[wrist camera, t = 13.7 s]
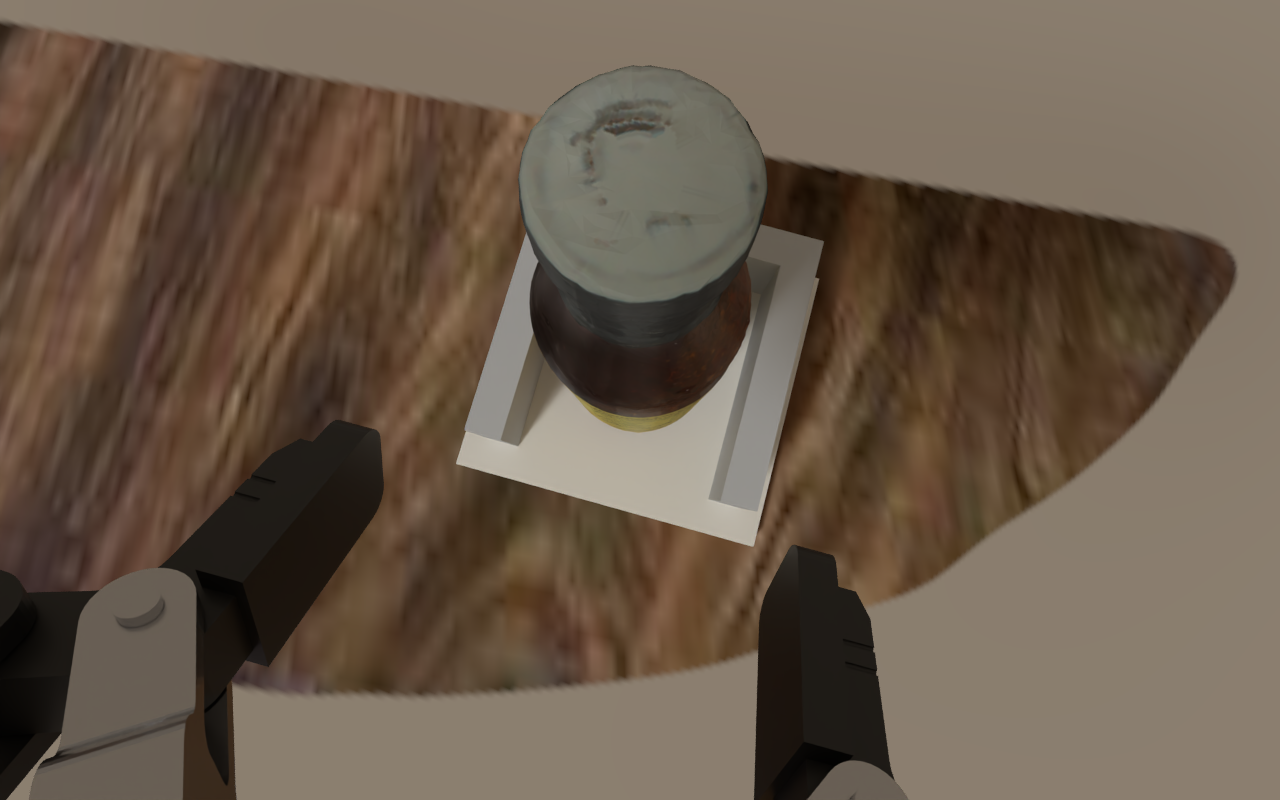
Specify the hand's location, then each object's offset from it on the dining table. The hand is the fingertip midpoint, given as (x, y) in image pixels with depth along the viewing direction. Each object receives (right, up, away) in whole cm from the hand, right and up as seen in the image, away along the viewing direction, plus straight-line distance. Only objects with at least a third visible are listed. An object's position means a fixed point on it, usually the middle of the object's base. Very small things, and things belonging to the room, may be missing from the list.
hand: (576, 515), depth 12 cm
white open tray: (+1, +4, +19) cm, 19 cm away
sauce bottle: (+1, +4, +18) cm, 18 cm away
